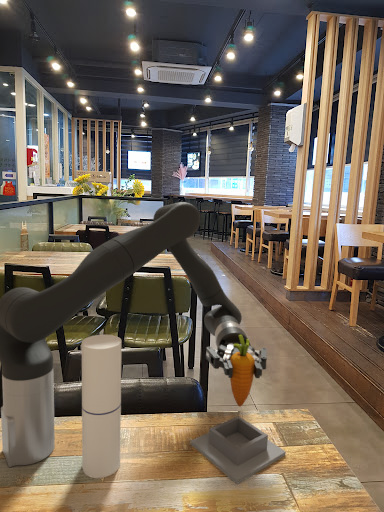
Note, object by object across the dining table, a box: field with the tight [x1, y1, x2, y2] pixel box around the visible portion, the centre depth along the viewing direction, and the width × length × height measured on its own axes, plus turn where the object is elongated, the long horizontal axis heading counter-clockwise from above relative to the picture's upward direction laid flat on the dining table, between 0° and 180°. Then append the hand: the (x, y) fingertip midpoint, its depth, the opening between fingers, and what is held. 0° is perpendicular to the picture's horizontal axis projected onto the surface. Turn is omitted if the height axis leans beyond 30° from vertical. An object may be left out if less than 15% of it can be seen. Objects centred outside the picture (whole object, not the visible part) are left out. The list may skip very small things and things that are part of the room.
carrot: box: [229, 335, 255, 407], centre depth 75 cm, size 5×5×15 cm
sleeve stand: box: [190, 415, 287, 485], centre depth 77 cm, size 14×14×4 cm
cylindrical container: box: [81, 334, 122, 479], centre depth 70 cm, size 7×7×25 cm
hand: (244, 373), depth 72 cm, fingers closed on carrot, 4 cm apart
